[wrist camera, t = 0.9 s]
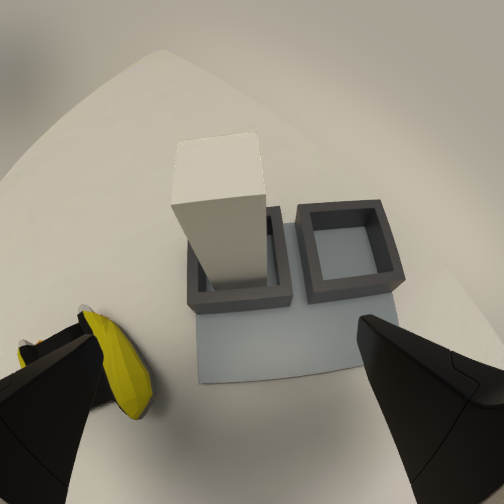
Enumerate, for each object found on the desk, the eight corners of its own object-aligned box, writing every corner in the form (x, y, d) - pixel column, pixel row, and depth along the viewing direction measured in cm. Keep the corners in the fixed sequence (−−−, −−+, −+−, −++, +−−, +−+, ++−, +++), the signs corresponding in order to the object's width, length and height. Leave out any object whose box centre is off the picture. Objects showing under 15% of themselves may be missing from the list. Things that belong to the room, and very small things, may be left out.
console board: (399, 356, 20) (422, 350, 16) (201, 383, 20) (188, 383, 17) (367, 222, 26) (380, 197, 22) (198, 237, 26) (187, 213, 22)
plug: (267, 289, 22) (265, 193, 12) (216, 293, 22) (170, 204, 12) (261, 240, 24) (256, 128, 13) (214, 245, 24) (178, 138, 14)
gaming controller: (179, 406, 20) (133, 301, 24) (153, 411, 15) (103, 279, 19) (56, 449, 17) (26, 358, 21) (19, 453, 12) (-10, 347, 16)
